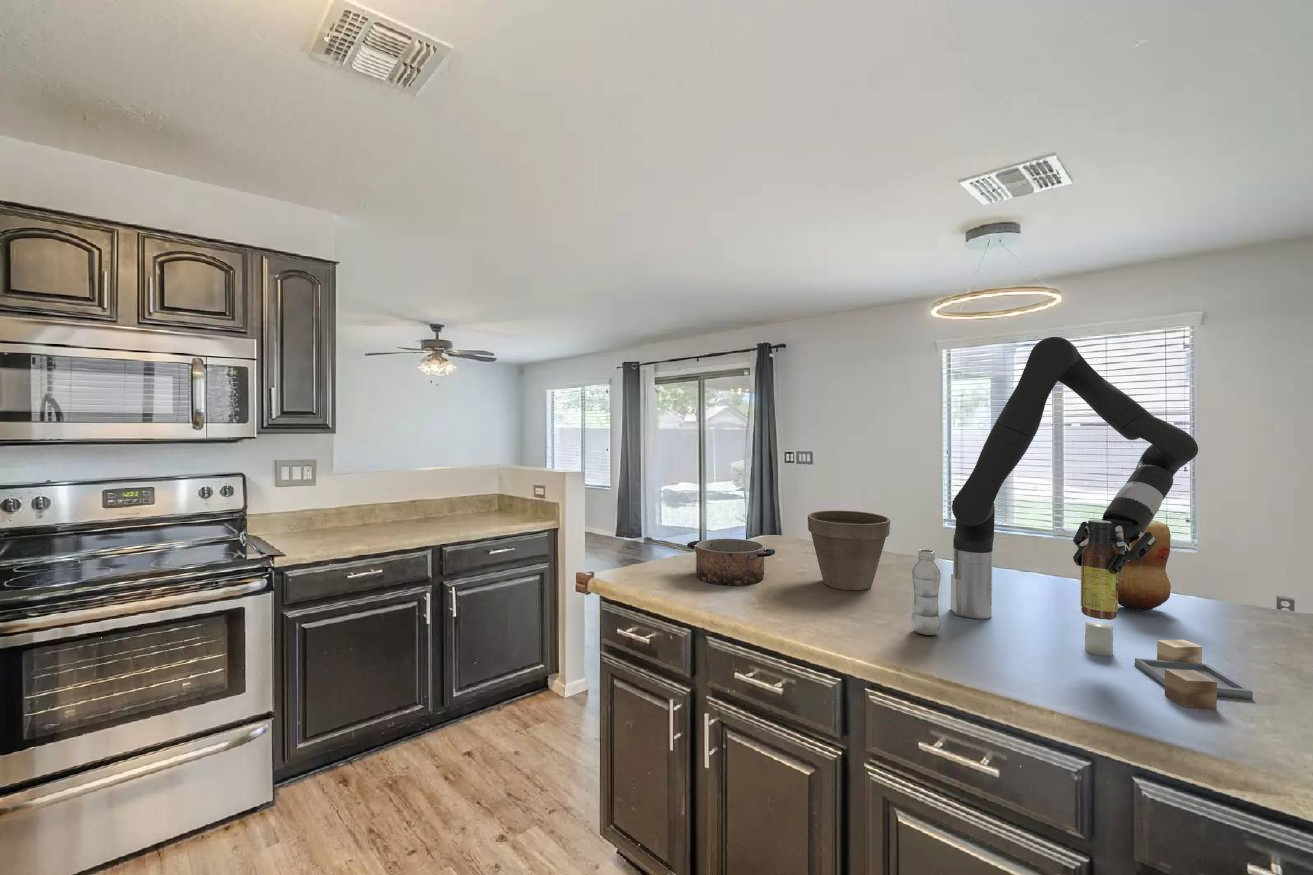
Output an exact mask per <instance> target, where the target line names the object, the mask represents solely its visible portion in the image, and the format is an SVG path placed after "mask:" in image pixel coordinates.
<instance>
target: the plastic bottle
mask: <svg viewBox="0 0 1313 875" xmlns="http://www.w3.org/2000/svg"><path fill="white" fill-rule="evenodd" d="M917 552H918V554H917V558H918V561H917V562H916V563H915V565H914V566H913V568H912V570H911V576H912V584H913V594H914V595H913V597H914V598H913V608H912V610H913V612H912V615H911V621H910V622H911V628H912V629H913V631H914V632H915V633H917V634H920V635H924V636H925V635H926V636H934V635H935V636H936V635H938V633H939V632H940V629H941V618H940V615H939V612H940V611H939V591H940V590H939V589H940V584H941V578H942V577H941V575H942V574H941V570H940V569H939V566H937V564H936V563H935V560H936V555H935V551H934V550H930V549H918V551H917Z"/></svg>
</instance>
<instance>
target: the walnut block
mask: <svg viewBox="0 0 1313 875" xmlns="http://www.w3.org/2000/svg"><path fill="white" fill-rule="evenodd" d="M1164 696H1166V697H1167V698H1169V699H1170V700H1172V701H1174V702H1175V703H1177V704H1179V705H1181V706H1182V707H1183V708H1185V709H1199V710H1201V709H1202V710H1203V709H1204V710H1217V709H1218V708H1217V707H1218V706H1217V705H1218V703H1217V700H1218V696H1217V682H1216V681H1215V680H1213V679H1211V678H1209V677H1207V676H1205V675H1203V674H1201V673H1199V672H1197V671H1195V670H1178V669H1165V687H1164Z"/></svg>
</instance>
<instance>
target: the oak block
mask: <svg viewBox="0 0 1313 875" xmlns="http://www.w3.org/2000/svg"><path fill="white" fill-rule="evenodd" d="M1156 641H1157V642H1156V643H1157V644H1156V660H1163V661H1175V662H1187V663H1200V664H1203V646H1202V645H1199V644H1197V643H1194V642H1191V641H1188V640H1186V639H1161V640H1160V639H1157V640H1156Z"/></svg>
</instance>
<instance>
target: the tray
mask: <svg viewBox="0 0 1313 875" xmlns="http://www.w3.org/2000/svg"><path fill="white" fill-rule="evenodd" d="M1134 666H1135V667H1137V668H1138V669H1139V670H1141V672H1143V673H1144V674H1146V675H1147V676H1149V677H1150V678H1151V679H1153V680H1154V681H1156V682H1157V683H1159V684H1160V685H1161V686H1163V687H1164V688H1165V669H1178V670H1195V671H1197V672H1199V673H1201V674H1203V675H1205V676H1207V677H1209V678H1211V679H1213V680H1215V681H1216V682H1217V697H1224V698H1235V699H1244V700H1253V696H1254V694H1253V693H1254V692H1253V690H1251V689H1250V688H1249V687H1246V686H1245V685H1243V684H1241V683H1240V682H1238V681H1236V680H1235V679H1233V678H1231V677H1229V676H1227V675H1226V674H1225V673H1223V672H1221V671H1219V670H1217V669H1216V668H1214V667H1213V666H1211V665H1209V664H1207V663H1202V664H1200V663H1187V662H1175V661H1163V660H1157V659H1150V658H1149V659H1148V658H1138V657H1136V658H1134Z"/></svg>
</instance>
